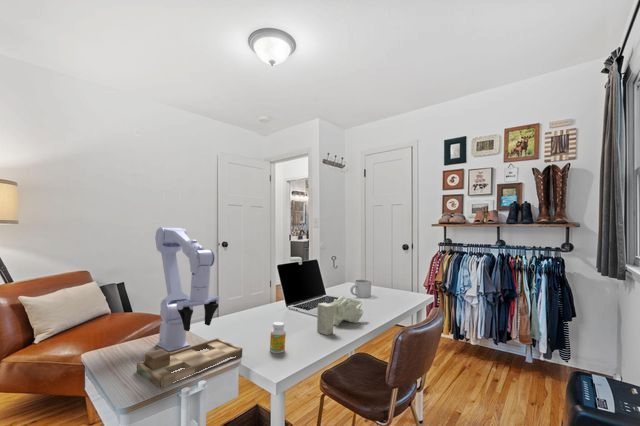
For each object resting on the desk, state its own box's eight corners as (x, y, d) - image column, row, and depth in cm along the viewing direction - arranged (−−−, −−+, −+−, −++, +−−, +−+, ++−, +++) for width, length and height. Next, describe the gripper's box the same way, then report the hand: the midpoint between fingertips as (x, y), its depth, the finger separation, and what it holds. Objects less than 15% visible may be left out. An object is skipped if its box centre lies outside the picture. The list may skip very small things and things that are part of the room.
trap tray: (136, 372, 90) (137, 363, 90) (216, 345, 113) (217, 337, 113) (160, 388, 82) (161, 378, 82) (242, 355, 105) (242, 348, 105)
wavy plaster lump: (345, 332, 153) (350, 302, 161) (364, 333, 144) (368, 301, 152) (318, 322, 144) (325, 290, 152) (337, 322, 135) (343, 288, 143)
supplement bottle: (270, 354, 107) (272, 326, 108) (268, 348, 113) (270, 321, 113) (285, 353, 109) (287, 325, 109) (283, 347, 114) (284, 320, 115)
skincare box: (333, 333, 132) (334, 305, 133) (326, 335, 129) (328, 306, 129) (322, 329, 136) (324, 302, 137) (315, 331, 133) (317, 303, 134)
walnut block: (144, 365, 90) (145, 353, 90) (160, 360, 94) (161, 348, 94) (152, 370, 87) (153, 358, 87) (169, 364, 91) (170, 353, 91)
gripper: (186, 290, 93) (183, 336, 92) (225, 285, 105) (223, 325, 104) (174, 287, 97) (171, 330, 96) (213, 282, 109) (210, 320, 108)
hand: (197, 327), depth 101 cm, fingers open, 7 cm apart
